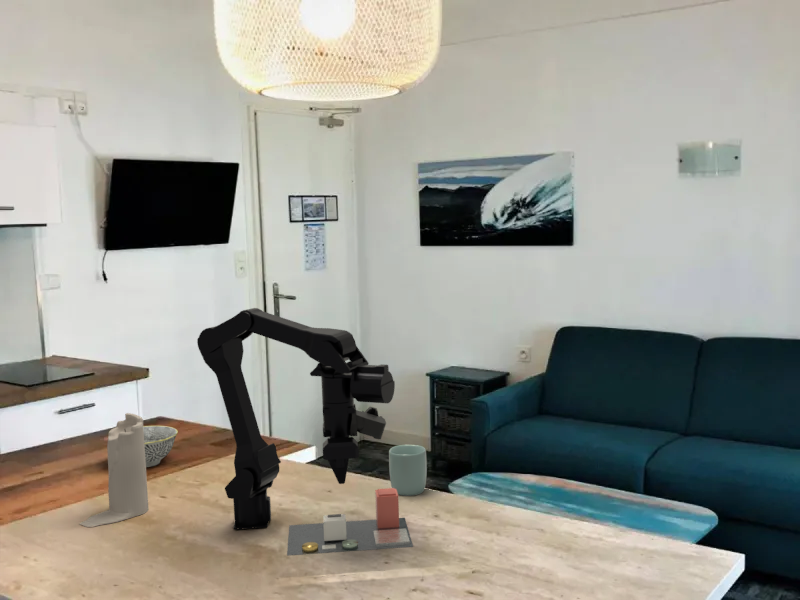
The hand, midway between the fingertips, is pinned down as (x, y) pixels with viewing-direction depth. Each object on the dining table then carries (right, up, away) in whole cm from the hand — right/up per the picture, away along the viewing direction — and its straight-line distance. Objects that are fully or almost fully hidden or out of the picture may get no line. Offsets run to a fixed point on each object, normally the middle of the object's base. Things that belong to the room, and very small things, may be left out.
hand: (341, 483), depth 153 cm
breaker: (-1, -9, -3) cm, 10 cm away
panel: (+1, -10, -1) cm, 11 cm away
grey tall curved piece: (-47, -10, +15) cm, 50 cm away
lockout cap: (+8, -8, +4) cm, 12 cm away
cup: (+13, -8, +22) cm, 27 cm away
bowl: (-52, -7, +51) cm, 73 cm away
